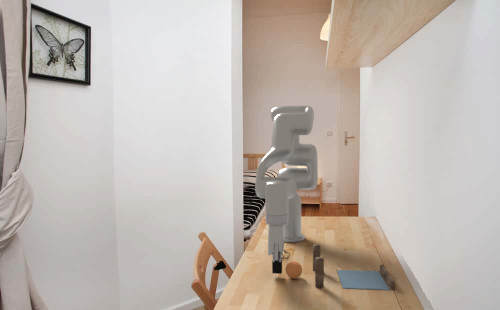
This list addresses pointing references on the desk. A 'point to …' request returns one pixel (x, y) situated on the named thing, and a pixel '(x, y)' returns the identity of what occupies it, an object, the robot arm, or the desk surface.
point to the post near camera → (319, 272)
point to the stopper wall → (387, 277)
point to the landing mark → (362, 280)
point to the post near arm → (315, 253)
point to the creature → (284, 251)
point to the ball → (293, 269)
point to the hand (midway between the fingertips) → (277, 272)
